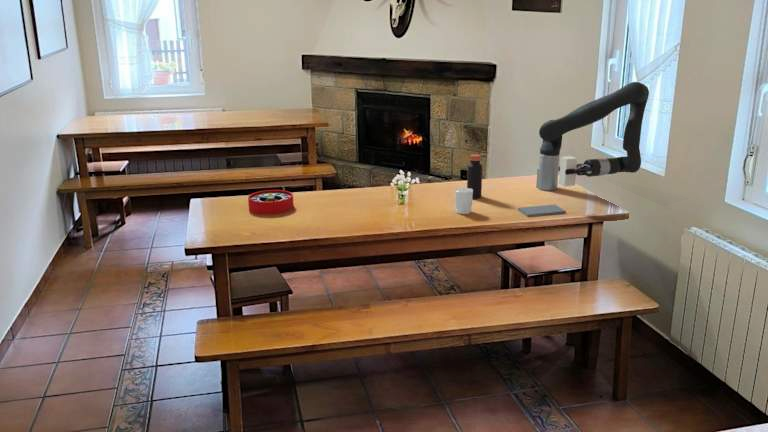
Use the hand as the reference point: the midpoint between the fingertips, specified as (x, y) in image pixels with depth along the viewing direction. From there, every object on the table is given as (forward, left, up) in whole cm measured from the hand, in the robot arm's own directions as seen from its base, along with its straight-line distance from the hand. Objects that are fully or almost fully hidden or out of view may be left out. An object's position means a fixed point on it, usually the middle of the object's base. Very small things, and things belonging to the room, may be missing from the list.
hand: (562, 170), depth 298 cm
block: (+1, +2, -6) cm, 7 cm away
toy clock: (-83, -98, -18) cm, 130 cm away
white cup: (-24, -35, -18) cm, 46 cm away
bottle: (-38, -15, -18) cm, 45 cm away
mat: (-3, -8, -18) cm, 20 cm away
